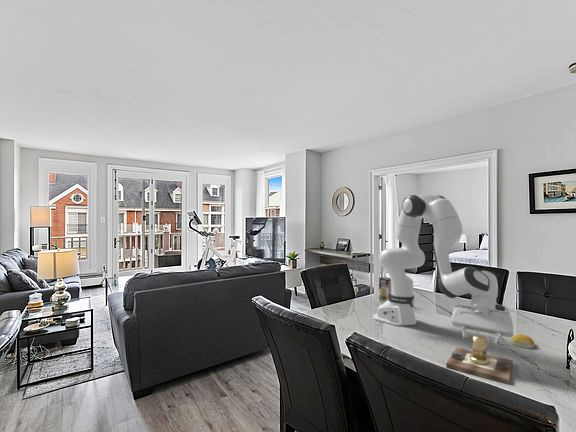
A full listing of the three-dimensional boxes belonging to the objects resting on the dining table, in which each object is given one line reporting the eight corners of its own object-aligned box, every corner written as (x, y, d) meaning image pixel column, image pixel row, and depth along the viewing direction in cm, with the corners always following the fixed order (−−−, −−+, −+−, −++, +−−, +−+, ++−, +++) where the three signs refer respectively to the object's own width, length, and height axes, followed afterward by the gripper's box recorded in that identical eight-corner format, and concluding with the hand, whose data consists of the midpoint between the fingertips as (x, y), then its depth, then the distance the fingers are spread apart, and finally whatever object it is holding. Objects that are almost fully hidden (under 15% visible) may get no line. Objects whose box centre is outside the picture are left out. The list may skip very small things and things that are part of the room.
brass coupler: (468, 361, 117) (468, 337, 117) (471, 355, 122) (471, 332, 122) (488, 366, 113) (488, 341, 113) (490, 360, 118) (490, 336, 118)
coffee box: (378, 301, 207) (378, 277, 207) (387, 301, 209) (386, 276, 209) (387, 305, 198) (387, 279, 198) (396, 304, 201) (396, 279, 201)
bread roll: (533, 343, 138) (533, 334, 138) (535, 350, 131) (535, 341, 131) (510, 339, 143) (510, 330, 143) (510, 345, 135) (510, 336, 135)
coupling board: (446, 367, 116) (446, 358, 116) (456, 351, 130) (456, 343, 130) (508, 384, 104) (508, 374, 104) (512, 364, 118) (512, 355, 118)
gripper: (452, 300, 129) (447, 330, 121) (513, 308, 116) (512, 343, 109) (455, 308, 132) (449, 338, 125) (514, 318, 120) (513, 352, 112)
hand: (479, 341), depth 117 cm, fingers open, 8 cm apart
